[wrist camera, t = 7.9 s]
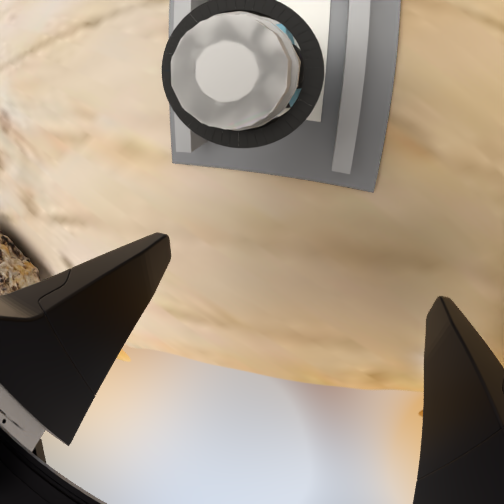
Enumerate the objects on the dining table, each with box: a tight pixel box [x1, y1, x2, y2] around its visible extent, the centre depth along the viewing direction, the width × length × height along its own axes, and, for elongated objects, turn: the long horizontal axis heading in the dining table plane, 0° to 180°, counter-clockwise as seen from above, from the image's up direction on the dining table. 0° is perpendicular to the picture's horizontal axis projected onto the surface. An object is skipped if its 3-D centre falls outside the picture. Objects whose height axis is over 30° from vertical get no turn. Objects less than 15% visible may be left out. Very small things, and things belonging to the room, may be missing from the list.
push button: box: [162, 0, 324, 148], centre depth 11 cm, size 7×5×10 cm
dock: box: [169, 0, 401, 193], centre depth 14 cm, size 14×16×4 cm
